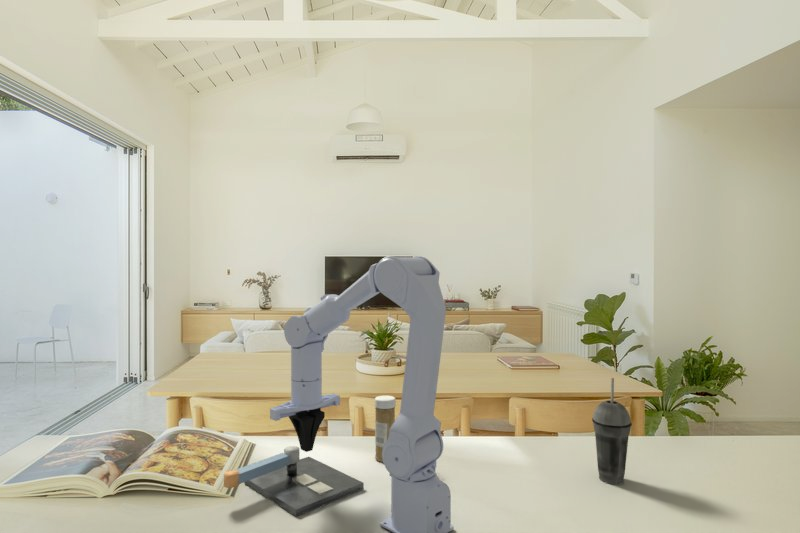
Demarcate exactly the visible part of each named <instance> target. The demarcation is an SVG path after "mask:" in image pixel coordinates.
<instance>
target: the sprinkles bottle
mask: <svg viewBox="0 0 800 533" xmlns="http://www.w3.org/2000/svg"><path fill="white" fill-rule="evenodd" d="M396 403H397V401H396V397H394V396H393V395H387V394H386V395H377V396H375V398H374V407H375V408H374V409H375V411H374V412H375V414H374V415H375V419H374V420H375V422H374V423H375V425H374V426H375V427H374V436H375V437H374V444H375V455H374V459H375V460H376V461H377V462H380V463H381V462H382V463H383V459H382V450H383V447H384V445H385V443H386V442H387V440H388V437H389V432H390V428H391V426H392V425H393V423H394V421H395V420H396V419H395V418H396V417H395V416H396V415H395V409H396V407H397V406H396Z"/></svg>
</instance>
